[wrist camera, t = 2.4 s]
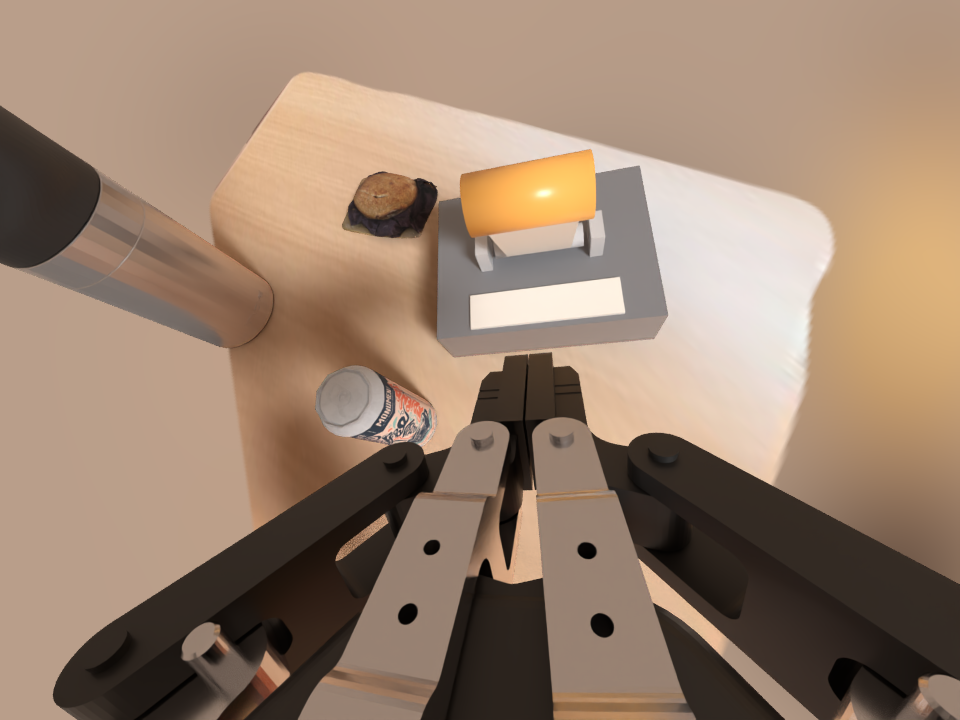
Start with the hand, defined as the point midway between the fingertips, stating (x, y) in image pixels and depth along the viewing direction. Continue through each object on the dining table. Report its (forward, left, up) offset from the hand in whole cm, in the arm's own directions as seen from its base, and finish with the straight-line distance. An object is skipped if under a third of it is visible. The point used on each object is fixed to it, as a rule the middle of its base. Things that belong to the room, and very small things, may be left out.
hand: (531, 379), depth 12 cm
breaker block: (-4, +15, -21) cm, 26 cm away
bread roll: (-23, +22, -22) cm, 39 cm away
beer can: (-13, -1, -21) cm, 25 cm away
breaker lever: (-4, +15, -14) cm, 21 cm away
